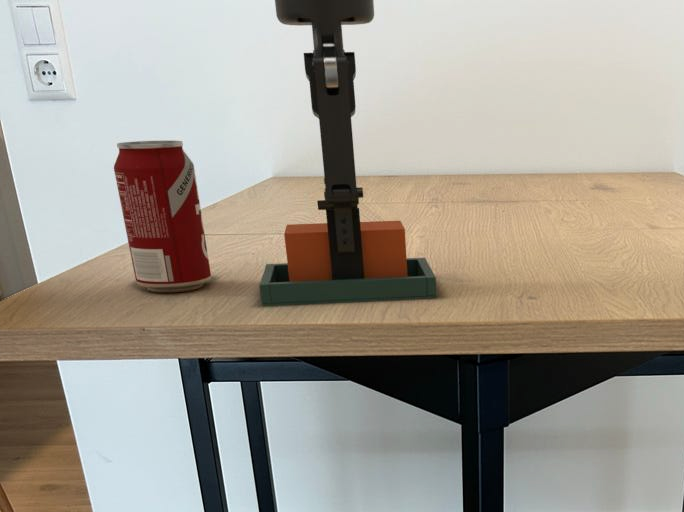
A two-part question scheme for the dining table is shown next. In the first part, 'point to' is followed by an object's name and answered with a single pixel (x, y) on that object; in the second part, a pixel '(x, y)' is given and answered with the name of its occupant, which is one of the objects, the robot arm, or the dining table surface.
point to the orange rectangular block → (314, 254)
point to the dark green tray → (347, 287)
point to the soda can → (162, 216)
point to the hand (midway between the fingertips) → (348, 284)
